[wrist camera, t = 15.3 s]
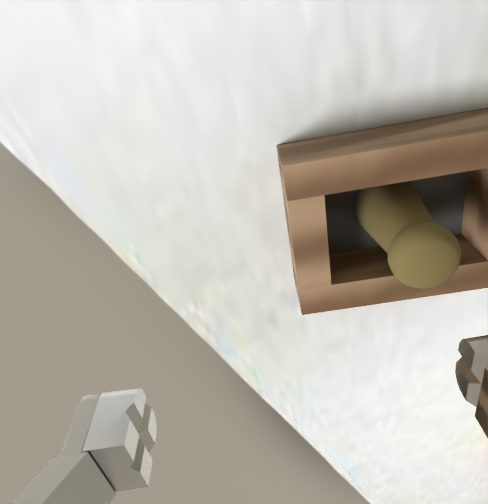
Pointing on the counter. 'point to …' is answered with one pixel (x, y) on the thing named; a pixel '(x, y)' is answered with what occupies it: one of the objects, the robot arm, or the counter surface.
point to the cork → (408, 234)
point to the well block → (377, 174)
